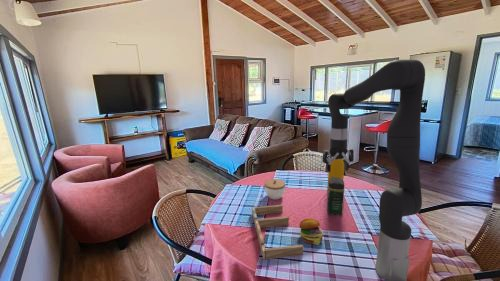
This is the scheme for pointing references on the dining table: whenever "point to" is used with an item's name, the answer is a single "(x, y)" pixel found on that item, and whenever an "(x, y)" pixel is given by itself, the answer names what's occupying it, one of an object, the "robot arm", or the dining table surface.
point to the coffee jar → (335, 196)
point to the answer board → (272, 222)
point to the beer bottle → (336, 169)
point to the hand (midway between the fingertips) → (337, 170)
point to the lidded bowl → (275, 188)
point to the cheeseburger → (311, 231)
